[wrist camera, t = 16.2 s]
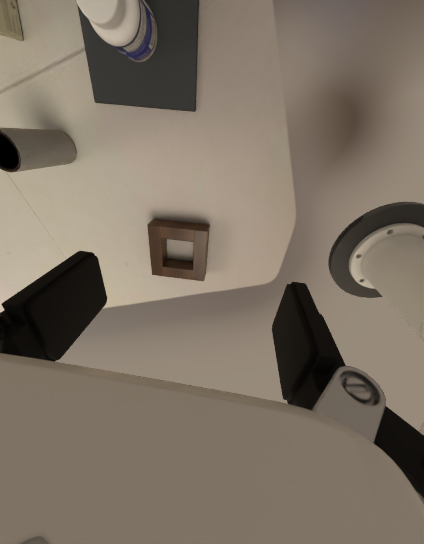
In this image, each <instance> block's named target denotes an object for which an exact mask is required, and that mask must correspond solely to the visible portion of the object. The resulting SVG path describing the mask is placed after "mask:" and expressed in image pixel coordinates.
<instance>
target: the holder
mask: <svg viewBox="0 0 424 544" xmlns="http://www.w3.org/2000/svg"><path fill="white" fill-rule="evenodd" d="M209 226H210V225H205V224H196V223H188V222H179V221H170V220H160V219H153V220H152V221H151V222H150V223H149V224H148V235H149V246H150V257H151V267H152V275H158V276H166V277H174V278H182V279H190V280H198V281H204V279H205V274H206V265H207V252H208V239H209ZM166 239H173V240H181V241H190V242H194V257H193V262H192V261H183V260H175V259H167V244H166Z"/></svg>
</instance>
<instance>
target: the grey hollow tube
mask: <svg viewBox="0 0 424 544" xmlns="http://www.w3.org/2000/svg"><path fill="white" fill-rule="evenodd" d="M75 158H76V148H75V145H74V143H73V141H72V140H71V139H70V137H69V136H68V135H66V134H65V133H63V132H61V131H58V130H41V129H19V128H0V169H2V170H4V171H7V172H18V171H24V170H31V169H38V168H44V167H51V166H57V165H64V164H69V163H72V162H73V161H74V160H75Z"/></svg>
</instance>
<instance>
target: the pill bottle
mask: <svg viewBox="0 0 424 544" xmlns="http://www.w3.org/2000/svg"><path fill="white" fill-rule="evenodd" d="M76 2H77V4H78V6H79V8H80V9H81V11H82V12H83V13H84V15H85V16H86V17H87V18H88V19H89V21H90V23H91V25H92V27H93V28H94V30H95V31H96V33H97V34H98V35H99V36H100V37H101V38H102V39H103V40H104V41H106V42H107V43H108V44H110V45H111V46H113V47H114V48H115V49H117V50H118V51H119V52H121V53H122V54H124V55H125V56H126V57H128V58H129V59H131V60H133V61H137V62H142V61H145V60H147V59H148V58H149V57H150V56H151V55H152V54H153V52H154V50H155V47H156V43H157V26H156V22H155V19H154V16H153V13H152V11H151V10H150V8H149V6H148V5H147V3H146V2H145V1H144V0H76Z"/></svg>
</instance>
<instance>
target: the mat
mask: <svg viewBox="0 0 424 544" xmlns="http://www.w3.org/2000/svg"><path fill="white" fill-rule="evenodd" d="M144 1H145V2H146V3H147V5H148V6H149V8H150V10H151V11H152V13H153V16H154V19H155V22H156V26H157V43H156V47H155V50H154V52H153V54H152V55H151V56H150V57H149V58H148V59H147V60H145V61H142V62H137V61H133V60H131V59H129V58H128V57H126V56H125V55H124V54H122V53H121V52H119V51H118V50H117V49H115V48H114V47H113V46H111V45H110V44H108V43H107V42H106V41H104V40H103V39H102V38H101V37H100V36H99V35H98V34H97V33H96V31H95V30H94V28H93V27H92V25H91V23H90V21H89V19H88V18H87V17H86V16H85V15H84V13H83V12H82V11H81V9H80V8H79V6H78V10H79V16H80V21H81V27H82V32H83V38H84V44H85V49H86V55H87V61H88V66H89V72H90V77H91V83H92V89H93V94H94V100H95V102H96V103H105V104H116V105H127V106H138V107H149V108H160V109H171V110H182V111H193V112H195V111H196V80H197V45H198V10H199V0H144Z"/></svg>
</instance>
